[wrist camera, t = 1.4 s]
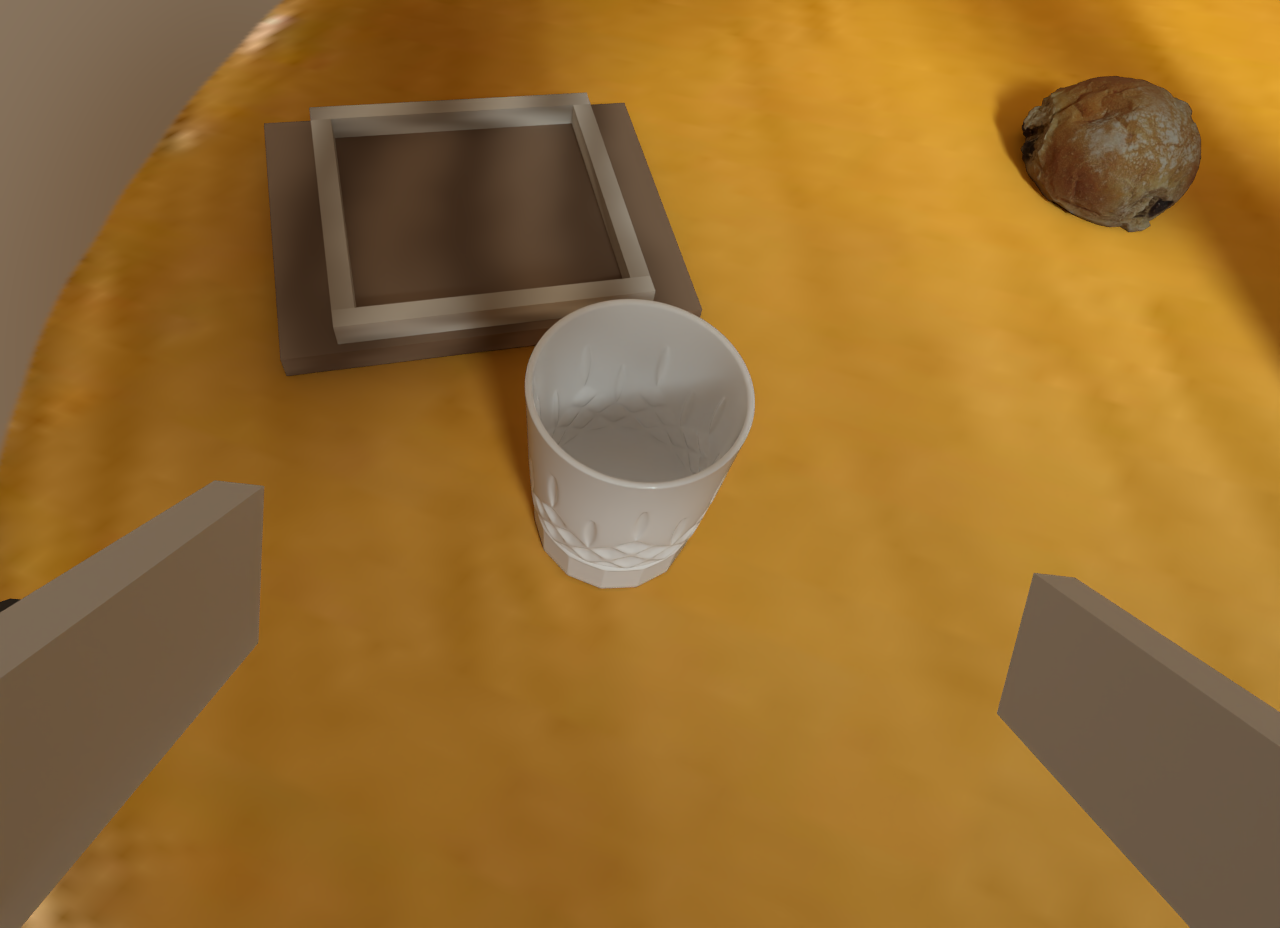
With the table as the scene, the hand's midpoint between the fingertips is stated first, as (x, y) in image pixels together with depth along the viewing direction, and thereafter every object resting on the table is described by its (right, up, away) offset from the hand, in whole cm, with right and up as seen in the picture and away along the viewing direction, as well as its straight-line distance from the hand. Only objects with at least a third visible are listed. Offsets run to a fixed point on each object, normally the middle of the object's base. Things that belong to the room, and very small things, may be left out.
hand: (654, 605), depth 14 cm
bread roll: (+28, +21, +40) cm, 53 cm away
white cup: (-1, 0, +23) cm, 23 cm away
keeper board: (-9, +15, +31) cm, 35 cm away
